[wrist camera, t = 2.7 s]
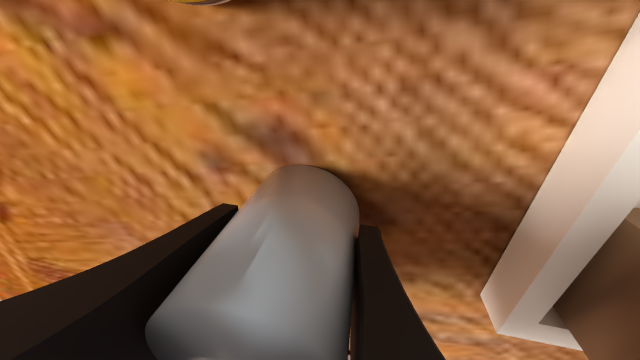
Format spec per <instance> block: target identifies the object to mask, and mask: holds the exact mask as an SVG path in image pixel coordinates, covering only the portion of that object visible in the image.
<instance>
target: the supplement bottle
mask: <svg viewBox="0 0 640 360" xmlns="http://www.w3.org/2000/svg"><path fill="white" fill-rule="evenodd" d="M171 1H175V2H180V3H185V4H191V5H200V6H206V5H217V4H222V3H225V2H228V1H230V0H171Z"/></svg>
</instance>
